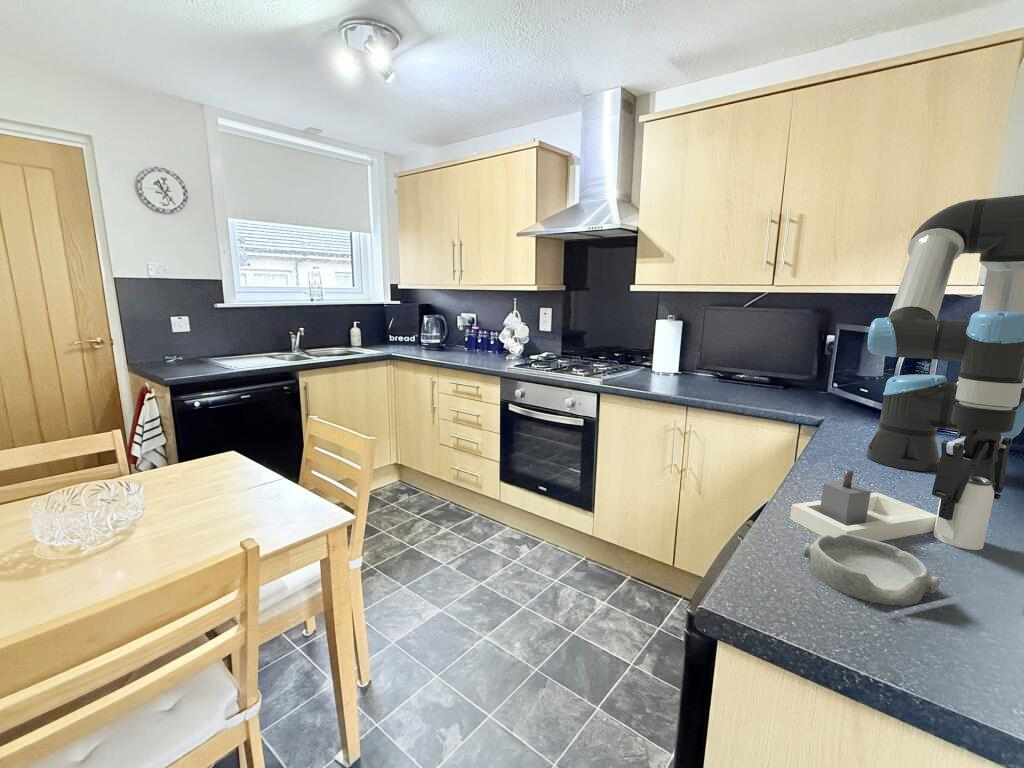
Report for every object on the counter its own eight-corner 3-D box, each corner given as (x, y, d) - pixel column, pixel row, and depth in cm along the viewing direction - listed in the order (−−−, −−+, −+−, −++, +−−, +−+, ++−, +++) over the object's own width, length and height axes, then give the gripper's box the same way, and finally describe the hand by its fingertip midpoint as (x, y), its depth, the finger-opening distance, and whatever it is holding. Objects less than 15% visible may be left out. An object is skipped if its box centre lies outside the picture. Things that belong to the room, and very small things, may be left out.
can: (993, 555, 80) (1007, 487, 78) (948, 550, 81) (961, 484, 79) (965, 536, 86) (978, 473, 84) (924, 532, 88) (935, 470, 85)
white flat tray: (874, 508, 97) (877, 492, 97) (935, 533, 87) (938, 515, 86) (789, 521, 91) (791, 504, 91) (843, 550, 81) (846, 531, 80)
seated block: (838, 520, 91) (846, 465, 89) (864, 532, 86) (873, 474, 84) (818, 523, 89) (825, 467, 87) (843, 536, 84) (852, 477, 82)
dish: (948, 607, 67) (954, 574, 66) (866, 619, 64) (872, 586, 63) (854, 553, 80) (859, 525, 80) (784, 561, 78) (788, 533, 77)
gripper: (995, 397, 85) (971, 517, 90) (918, 403, 80) (896, 530, 84) (1052, 406, 78) (1023, 536, 83) (971, 413, 73) (945, 551, 77)
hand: (959, 532), depth 83 cm, fingers closed on can, 6 cm apart
